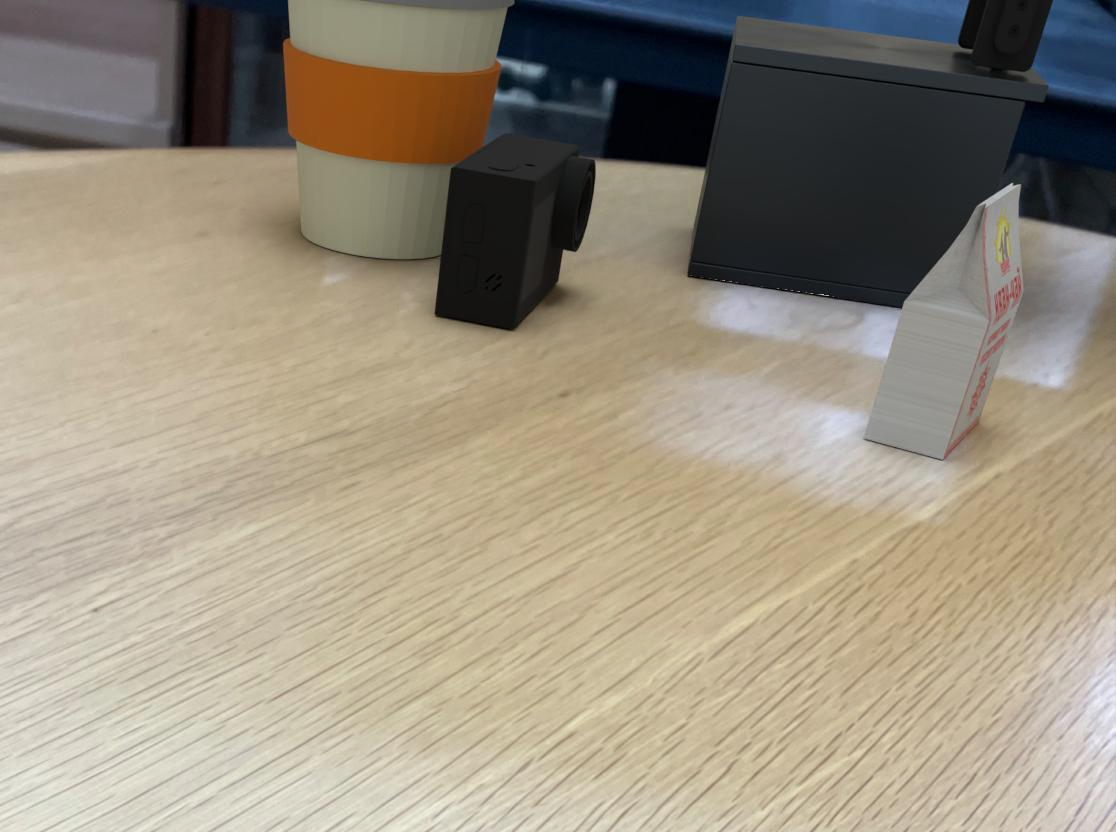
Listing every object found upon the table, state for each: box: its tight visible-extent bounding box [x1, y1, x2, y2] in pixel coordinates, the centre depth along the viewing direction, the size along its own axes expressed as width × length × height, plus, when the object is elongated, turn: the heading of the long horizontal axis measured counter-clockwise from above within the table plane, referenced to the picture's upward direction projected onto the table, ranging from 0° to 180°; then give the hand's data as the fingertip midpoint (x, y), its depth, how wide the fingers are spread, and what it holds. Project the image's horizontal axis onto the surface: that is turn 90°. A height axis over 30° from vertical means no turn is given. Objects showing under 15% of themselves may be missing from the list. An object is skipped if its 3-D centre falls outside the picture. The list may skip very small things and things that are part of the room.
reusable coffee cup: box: [282, 0, 515, 260], centre depth 84 cm, size 13×13×15 cm
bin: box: [686, 33, 1026, 309], centre depth 89 cm, size 16×13×11 cm
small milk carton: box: [863, 182, 1025, 461], centre depth 68 cm, size 4×7×10 cm, turn 149°
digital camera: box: [434, 133, 597, 330], centre depth 79 cm, size 10×5×7 cm, turn 162°
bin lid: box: [732, 15, 1050, 103], centre depth 84 cm, size 16×13×5 cm
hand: (992, 55), depth 85 cm, fingers closed on bin lid, 6 cm apart
